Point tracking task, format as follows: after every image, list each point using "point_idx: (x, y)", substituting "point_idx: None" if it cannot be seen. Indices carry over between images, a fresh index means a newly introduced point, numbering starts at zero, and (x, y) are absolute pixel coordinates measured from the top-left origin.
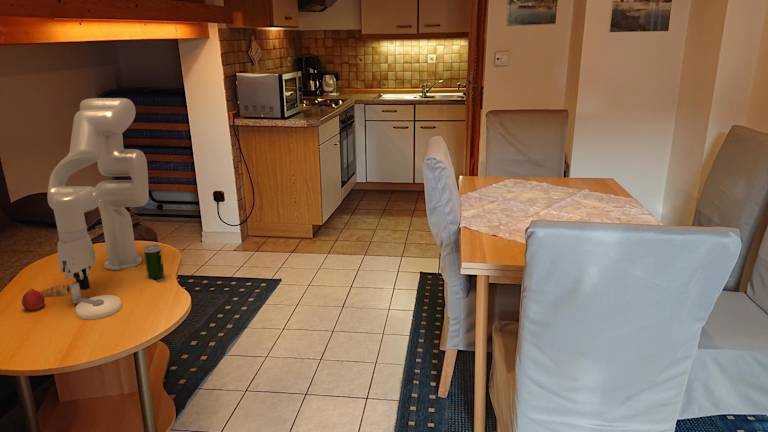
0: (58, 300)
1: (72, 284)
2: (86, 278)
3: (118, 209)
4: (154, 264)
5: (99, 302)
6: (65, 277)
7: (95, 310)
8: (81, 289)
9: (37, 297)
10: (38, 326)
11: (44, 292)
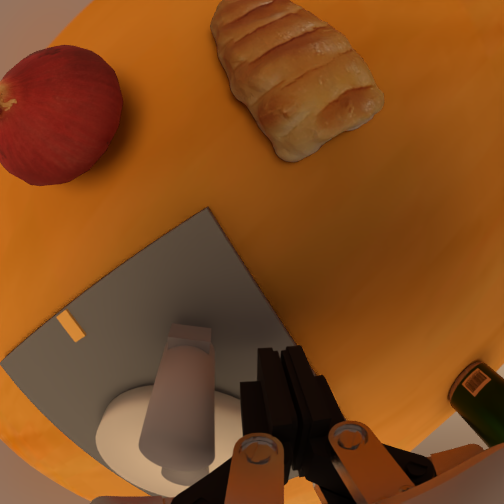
0: (246, 128)
1: (156, 450)
2: (295, 468)
3: None
4: (481, 438)
5: (180, 482)
6: (93, 500)
7: (139, 477)
8: (257, 374)
9: (18, 175)
10: (12, 279)
11: (239, 28)
